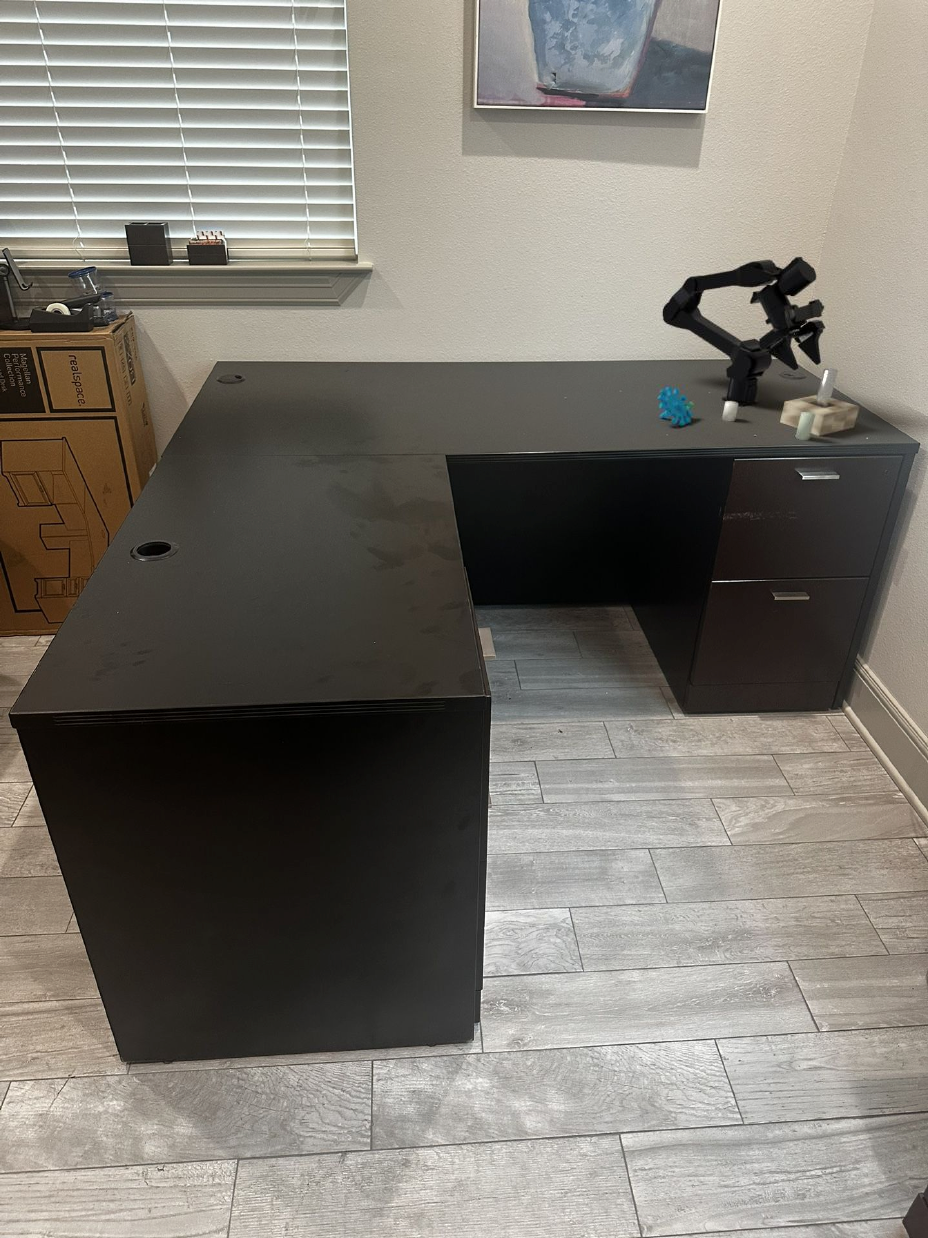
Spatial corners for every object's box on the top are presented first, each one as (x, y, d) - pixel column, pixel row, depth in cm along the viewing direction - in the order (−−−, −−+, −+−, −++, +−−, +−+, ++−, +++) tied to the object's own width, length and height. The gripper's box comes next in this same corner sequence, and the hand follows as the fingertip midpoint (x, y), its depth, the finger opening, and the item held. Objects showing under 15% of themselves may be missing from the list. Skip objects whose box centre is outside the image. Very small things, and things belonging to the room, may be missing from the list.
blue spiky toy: (670, 423, 191) (656, 384, 193) (653, 435, 196) (639, 397, 197) (703, 422, 197) (689, 385, 198) (685, 435, 201) (672, 398, 203)
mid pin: (792, 436, 190) (798, 413, 187) (801, 434, 192) (807, 411, 189) (803, 440, 188) (809, 416, 185) (812, 438, 189) (818, 415, 187)
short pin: (719, 418, 200) (722, 402, 198) (728, 416, 202) (731, 400, 200) (728, 422, 198) (732, 405, 196) (737, 420, 200) (741, 403, 197)
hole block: (779, 422, 199) (784, 401, 196) (814, 414, 205) (819, 394, 203) (818, 435, 191) (824, 414, 189) (853, 427, 197) (859, 406, 195)
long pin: (811, 426, 197) (825, 370, 190) (809, 422, 200) (823, 367, 193) (824, 427, 197) (838, 371, 190) (822, 423, 199) (836, 368, 192)
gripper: (781, 290, 185) (813, 352, 184) (828, 283, 195) (858, 341, 194) (744, 320, 195) (774, 379, 193) (790, 312, 205) (819, 368, 203)
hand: (807, 366), depth 196 cm, fingers open, 9 cm apart
